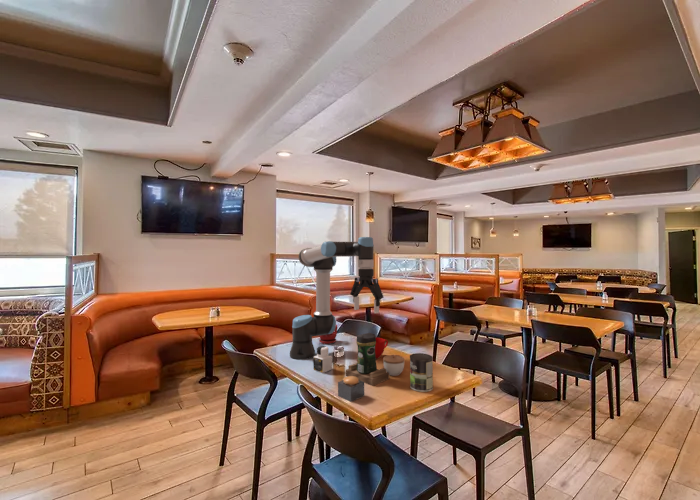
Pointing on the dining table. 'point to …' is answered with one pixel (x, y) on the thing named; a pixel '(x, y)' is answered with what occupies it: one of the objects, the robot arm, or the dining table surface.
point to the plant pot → (329, 337)
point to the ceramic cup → (380, 346)
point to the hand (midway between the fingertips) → (366, 311)
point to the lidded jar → (393, 364)
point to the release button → (351, 380)
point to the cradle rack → (368, 375)
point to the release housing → (350, 390)
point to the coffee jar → (366, 353)
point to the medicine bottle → (322, 360)
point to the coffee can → (421, 372)
